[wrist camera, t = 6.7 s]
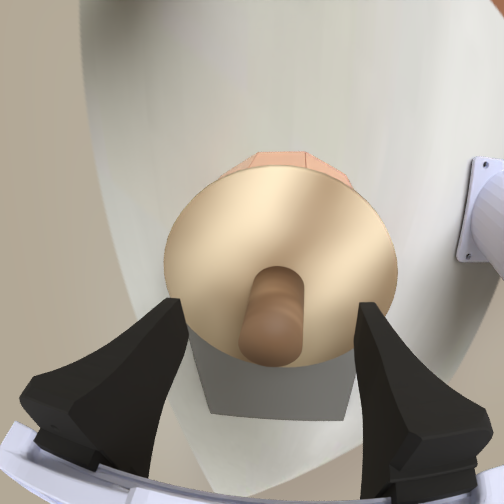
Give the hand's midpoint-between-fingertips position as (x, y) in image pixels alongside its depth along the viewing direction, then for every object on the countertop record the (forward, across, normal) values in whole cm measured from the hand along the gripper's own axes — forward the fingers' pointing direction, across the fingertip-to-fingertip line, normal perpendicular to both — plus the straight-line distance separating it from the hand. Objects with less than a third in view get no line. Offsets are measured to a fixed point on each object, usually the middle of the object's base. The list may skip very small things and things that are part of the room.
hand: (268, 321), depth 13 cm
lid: (+5, 0, +2) cm, 6 cm away
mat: (+10, +1, +16) cm, 19 cm away
